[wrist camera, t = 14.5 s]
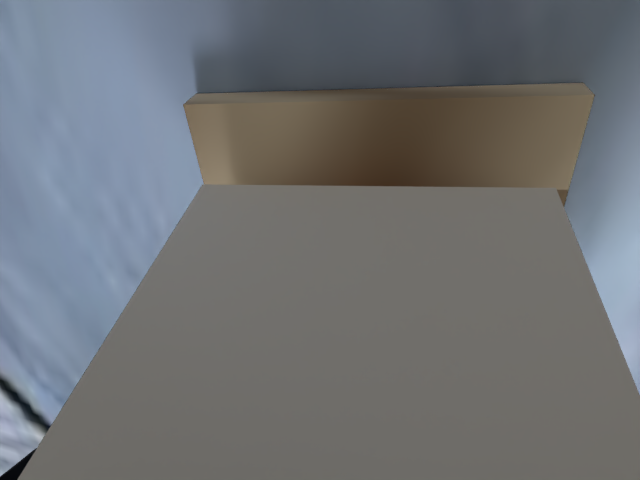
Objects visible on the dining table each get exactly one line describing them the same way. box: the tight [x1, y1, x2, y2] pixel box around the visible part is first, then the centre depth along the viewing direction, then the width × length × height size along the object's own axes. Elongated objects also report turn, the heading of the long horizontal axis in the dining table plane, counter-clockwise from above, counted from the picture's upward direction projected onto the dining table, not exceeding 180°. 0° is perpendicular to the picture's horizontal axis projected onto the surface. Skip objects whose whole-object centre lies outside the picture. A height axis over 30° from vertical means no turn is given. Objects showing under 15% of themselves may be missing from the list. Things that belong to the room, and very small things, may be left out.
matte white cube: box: [17, 184, 640, 480], centre depth 10 cm, size 8×8×7 cm
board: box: [183, 83, 595, 207], centre depth 15 cm, size 9×17×1 cm, turn 5°
